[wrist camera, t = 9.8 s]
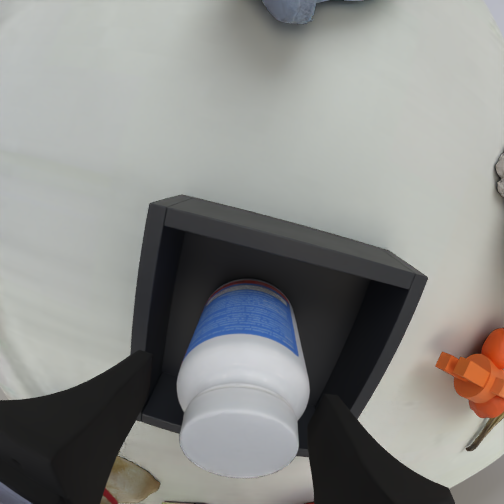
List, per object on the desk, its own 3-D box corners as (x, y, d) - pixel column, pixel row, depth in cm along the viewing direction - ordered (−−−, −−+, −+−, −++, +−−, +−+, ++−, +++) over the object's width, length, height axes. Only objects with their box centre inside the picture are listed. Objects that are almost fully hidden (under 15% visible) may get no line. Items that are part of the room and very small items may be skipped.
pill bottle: (187, 298, 18) (123, 411, 8) (270, 260, 17) (280, 363, 7) (230, 368, 19) (209, 495, 9) (308, 338, 18) (339, 465, 9)
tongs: (458, 449, 22) (465, 461, 20) (515, 354, 19) (527, 363, 17) (481, 443, 22) (487, 453, 20) (534, 352, 19) (545, 360, 17)
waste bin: (152, 371, 20) (128, 417, 15) (180, 194, 17) (149, 202, 12) (320, 409, 20) (330, 459, 15) (389, 250, 17) (428, 277, 12)
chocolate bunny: (109, 440, 22) (71, 516, 13) (166, 483, 24) (144, 556, 14) (83, 449, 23) (47, 513, 14) (135, 488, 25) (112, 552, 15)
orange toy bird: (458, 414, 13) (511, 430, 15) (507, 300, 13) (545, 352, 15) (410, 387, 18) (475, 413, 20) (454, 292, 18) (507, 343, 20)
